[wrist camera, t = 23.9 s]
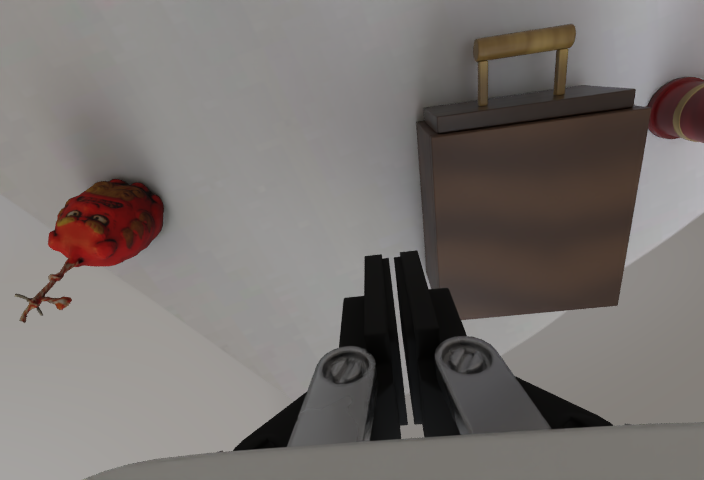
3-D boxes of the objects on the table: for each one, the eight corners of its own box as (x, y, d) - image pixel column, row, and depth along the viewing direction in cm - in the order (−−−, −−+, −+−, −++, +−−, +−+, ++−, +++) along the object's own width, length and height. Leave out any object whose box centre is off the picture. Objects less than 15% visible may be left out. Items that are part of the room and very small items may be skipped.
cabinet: (415, 121, 34) (431, 137, 26) (583, 98, 33) (652, 107, 25) (426, 273, 40) (441, 322, 32) (567, 258, 39) (617, 305, 31)
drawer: (419, 49, 31) (433, 44, 25) (589, 22, 30) (648, 10, 23) (432, 257, 38) (445, 293, 32) (567, 242, 37) (607, 277, 31)
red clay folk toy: (168, 181, 37) (53, 246, 23) (174, 245, 40) (74, 337, 26) (90, 172, 37) (-72, 232, 23) (102, 237, 40) (-36, 325, 26)
